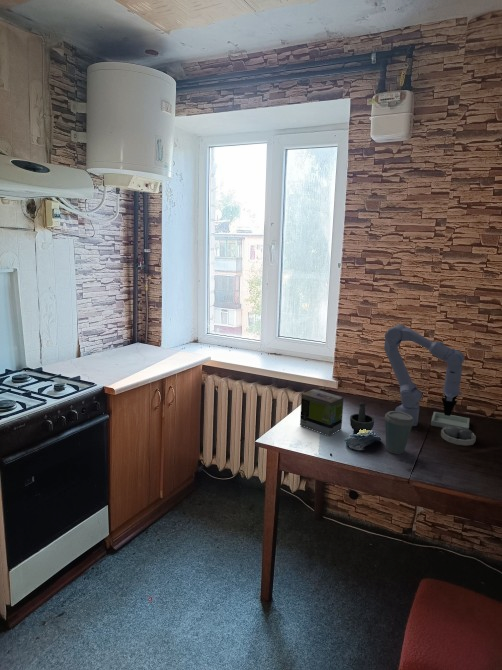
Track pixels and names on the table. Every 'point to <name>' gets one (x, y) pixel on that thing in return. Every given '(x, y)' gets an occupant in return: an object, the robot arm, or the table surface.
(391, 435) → the disposable coffee cup
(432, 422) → the parts tray
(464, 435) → the pebble
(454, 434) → the pebble
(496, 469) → the table surface
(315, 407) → the small aquarium
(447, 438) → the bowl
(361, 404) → the mortar and pestle
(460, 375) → the robot arm
